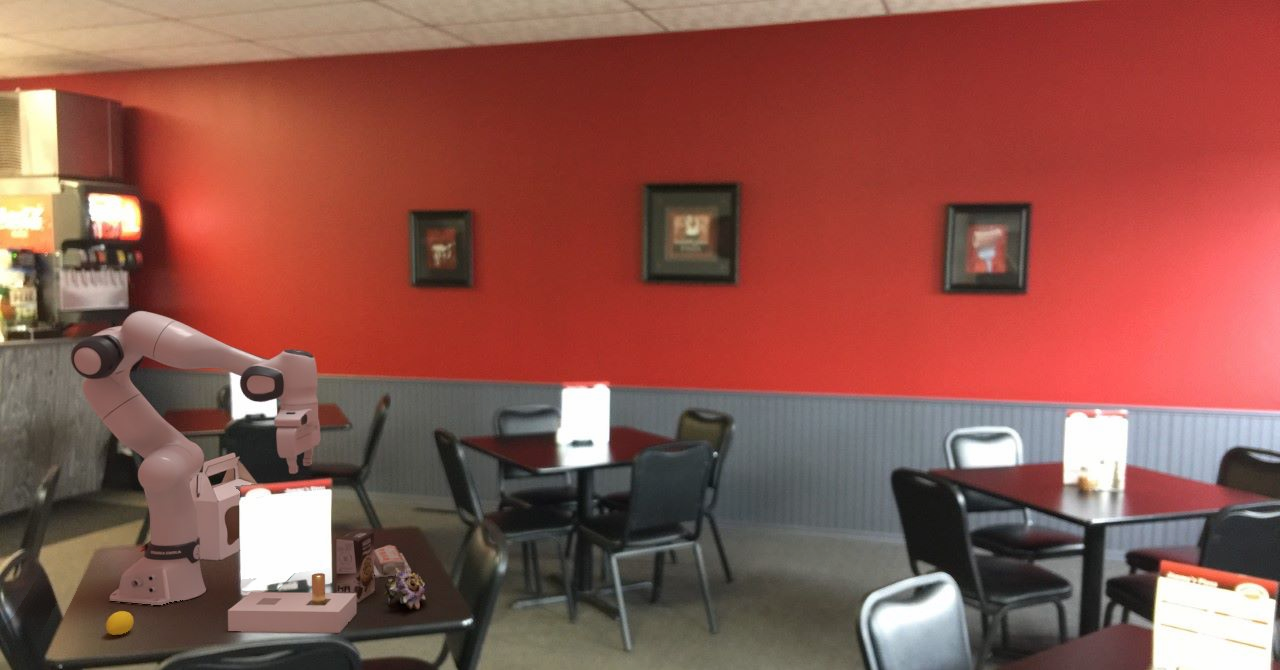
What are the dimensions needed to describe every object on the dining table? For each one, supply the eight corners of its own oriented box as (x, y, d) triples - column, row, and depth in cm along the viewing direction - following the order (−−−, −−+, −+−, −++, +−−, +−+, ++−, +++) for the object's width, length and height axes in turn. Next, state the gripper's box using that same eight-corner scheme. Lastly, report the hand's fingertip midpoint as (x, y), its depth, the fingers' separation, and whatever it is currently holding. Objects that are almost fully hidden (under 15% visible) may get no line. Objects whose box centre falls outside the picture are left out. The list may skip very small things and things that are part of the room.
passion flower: (416, 629, 245) (412, 601, 238) (375, 619, 247) (370, 590, 239) (433, 593, 254) (430, 564, 246) (394, 583, 255) (390, 554, 248)
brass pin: (310, 618, 233) (309, 577, 233) (315, 614, 236) (314, 573, 236) (323, 618, 233) (322, 577, 233) (327, 614, 236) (326, 573, 236)
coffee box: (359, 603, 249) (358, 540, 248) (335, 601, 250) (334, 538, 249) (375, 591, 258) (375, 531, 256) (353, 589, 259) (352, 529, 258)
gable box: (219, 561, 284) (217, 465, 282) (178, 558, 286) (175, 463, 284) (261, 540, 306) (259, 451, 304) (222, 538, 308) (220, 449, 306)
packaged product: (412, 559, 272) (375, 563, 268) (412, 576, 272) (375, 580, 268) (401, 542, 288) (366, 545, 285) (402, 558, 289) (367, 562, 285)
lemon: (122, 642, 223) (119, 620, 222) (100, 640, 224) (97, 619, 223) (141, 627, 230) (139, 605, 229) (120, 625, 231) (117, 604, 230)
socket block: (228, 631, 229) (227, 610, 228) (251, 612, 242) (251, 592, 241) (339, 632, 228) (339, 611, 228) (356, 613, 241) (356, 593, 241)
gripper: (302, 408, 256) (303, 461, 257) (271, 420, 236) (272, 477, 237) (326, 408, 256) (327, 461, 257) (297, 420, 236) (298, 477, 237)
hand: (300, 469), depth 247 cm, fingers open, 8 cm apart
